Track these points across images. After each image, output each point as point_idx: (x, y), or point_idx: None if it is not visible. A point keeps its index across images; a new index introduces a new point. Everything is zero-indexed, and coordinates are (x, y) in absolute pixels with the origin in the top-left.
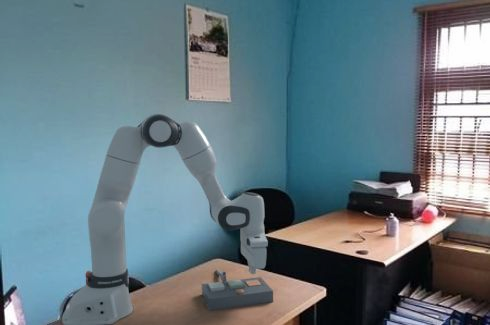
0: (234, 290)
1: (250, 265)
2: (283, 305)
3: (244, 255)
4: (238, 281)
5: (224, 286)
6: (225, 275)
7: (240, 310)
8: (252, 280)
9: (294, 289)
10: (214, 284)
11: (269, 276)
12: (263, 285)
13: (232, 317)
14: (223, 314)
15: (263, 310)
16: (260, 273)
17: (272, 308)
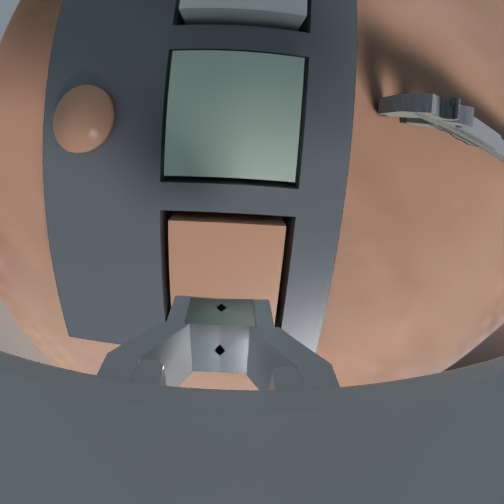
0: (129, 83)
1: (263, 358)
2: (57, 324)
3: (439, 392)
4: (252, 152)
5: (184, 7)
6: (431, 109)
7: (42, 110)
8: (273, 285)
9: None
10: None
11: (394, 378)
12: (157, 323)
13: (6, 68)
14: (42, 27)
15: (21, 223)
16: (442, 351)
17: (33, 270)
